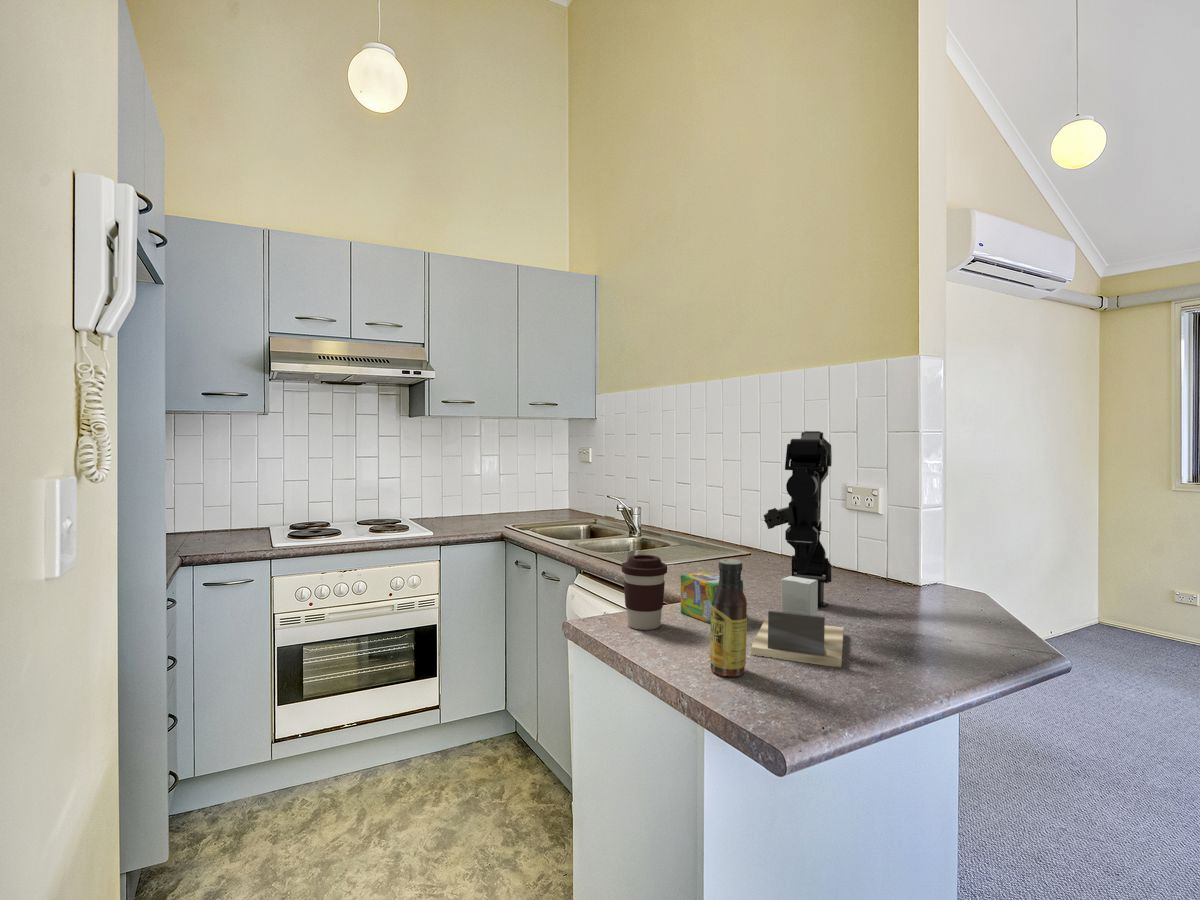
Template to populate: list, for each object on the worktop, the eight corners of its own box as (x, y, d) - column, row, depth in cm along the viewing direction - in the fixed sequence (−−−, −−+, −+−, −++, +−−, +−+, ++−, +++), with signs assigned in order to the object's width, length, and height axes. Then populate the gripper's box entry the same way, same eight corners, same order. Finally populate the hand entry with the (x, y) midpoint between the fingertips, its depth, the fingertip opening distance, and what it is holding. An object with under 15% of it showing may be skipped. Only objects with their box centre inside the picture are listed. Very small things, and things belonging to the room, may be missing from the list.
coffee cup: (653, 635, 128) (654, 564, 127) (612, 627, 133) (613, 558, 133) (674, 623, 136) (674, 556, 136) (634, 616, 141) (635, 551, 141)
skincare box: (818, 640, 121) (819, 579, 121) (809, 645, 118) (810, 583, 118) (788, 633, 125) (789, 575, 125) (779, 638, 122) (780, 578, 122)
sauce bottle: (705, 665, 111) (707, 556, 111) (739, 664, 112) (740, 556, 111) (715, 680, 105) (716, 564, 104) (751, 679, 105) (752, 564, 105)
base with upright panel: (765, 624, 136) (765, 586, 135) (843, 634, 129) (844, 594, 129) (751, 654, 117) (751, 610, 117) (841, 667, 111) (842, 621, 111)
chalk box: (679, 574, 144) (724, 587, 131) (708, 570, 149) (754, 582, 136) (679, 614, 144) (724, 630, 132) (708, 608, 149) (754, 623, 136)
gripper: (772, 491, 145) (771, 557, 145) (760, 498, 128) (759, 573, 128) (822, 493, 141) (821, 561, 141) (817, 501, 123) (816, 578, 124)
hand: (803, 568), depth 134 cm, fingers open, 9 cm apart
